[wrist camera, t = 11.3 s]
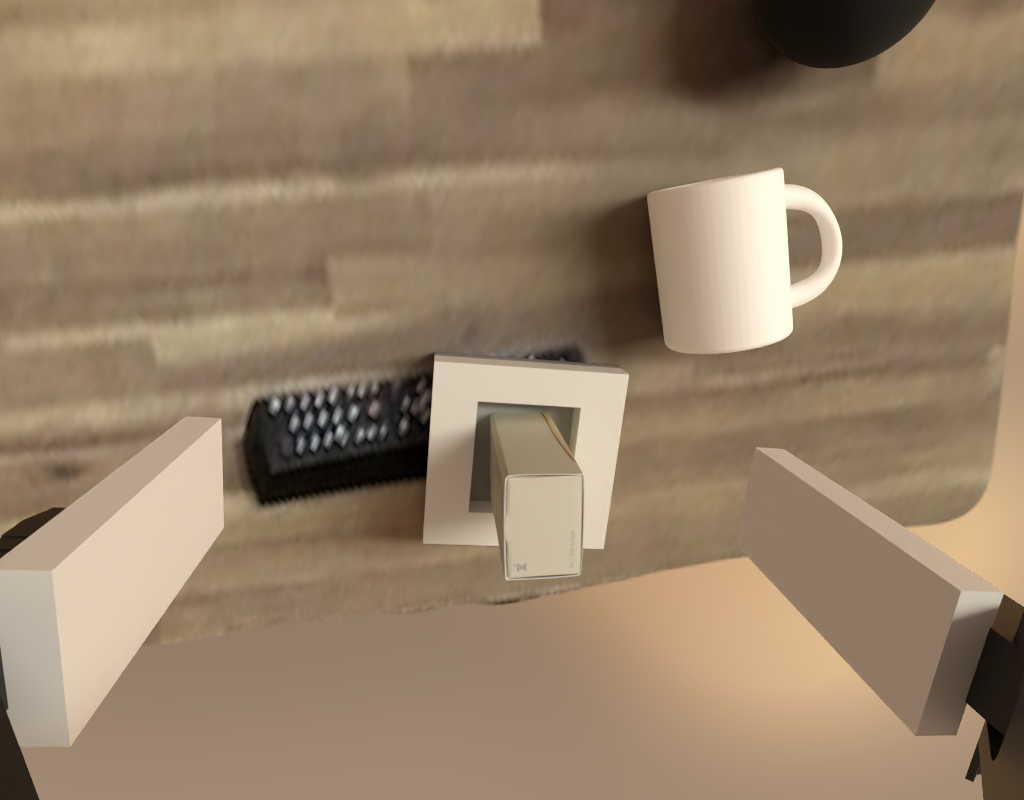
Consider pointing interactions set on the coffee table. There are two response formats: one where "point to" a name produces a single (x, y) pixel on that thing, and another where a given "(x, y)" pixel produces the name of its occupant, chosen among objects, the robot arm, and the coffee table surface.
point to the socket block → (516, 389)
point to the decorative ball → (837, 28)
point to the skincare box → (535, 497)
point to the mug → (734, 260)
